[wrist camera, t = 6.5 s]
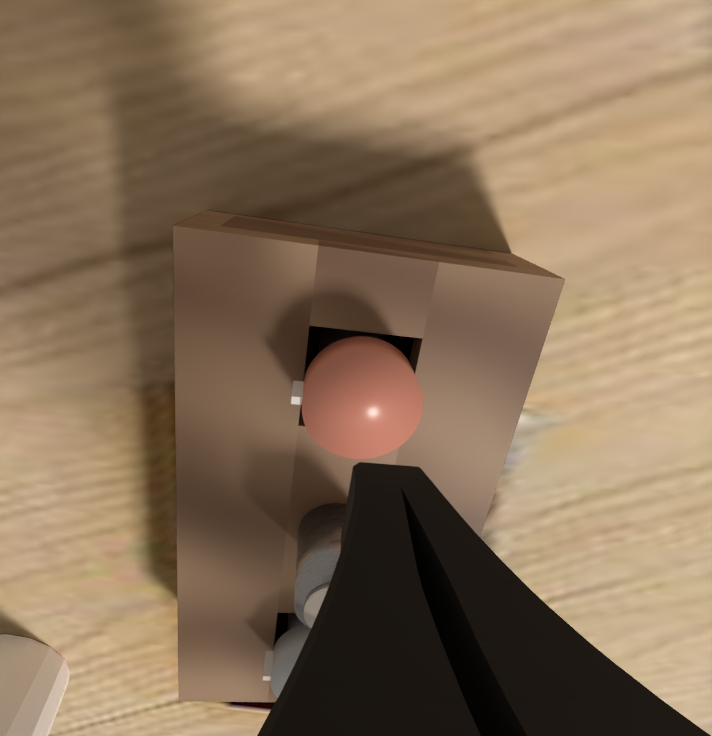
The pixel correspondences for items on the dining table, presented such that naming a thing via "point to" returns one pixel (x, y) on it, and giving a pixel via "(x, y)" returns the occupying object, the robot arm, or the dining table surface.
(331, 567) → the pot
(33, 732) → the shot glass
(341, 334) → the knob red
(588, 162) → the dining table surface
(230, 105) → the dining table surface
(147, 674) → the dining table surface
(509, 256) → the mount
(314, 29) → the dining table surface
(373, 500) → the robot arm
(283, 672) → the knob grey
